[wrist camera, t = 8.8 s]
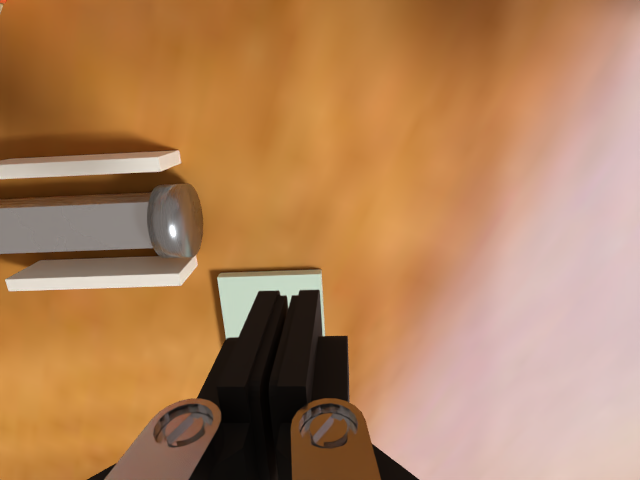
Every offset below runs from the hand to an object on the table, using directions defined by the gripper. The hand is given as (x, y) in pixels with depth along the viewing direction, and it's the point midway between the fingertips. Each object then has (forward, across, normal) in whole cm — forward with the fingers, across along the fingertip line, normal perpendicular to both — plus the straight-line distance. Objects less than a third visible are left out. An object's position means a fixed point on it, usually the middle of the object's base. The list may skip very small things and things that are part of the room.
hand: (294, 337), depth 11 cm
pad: (+16, +4, +8) cm, 18 cm away
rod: (+15, +17, 0) cm, 23 cm away
